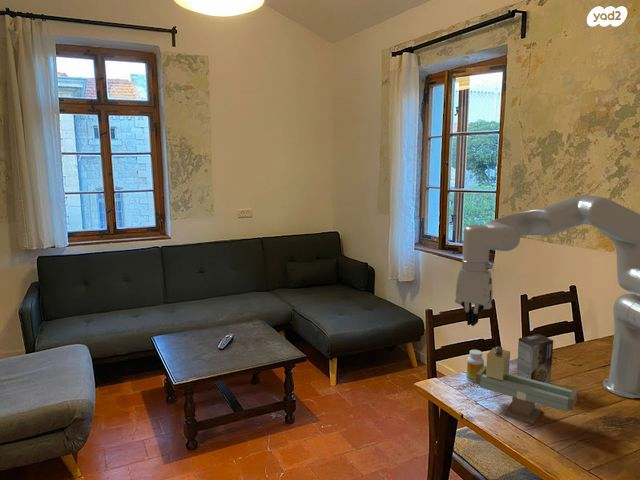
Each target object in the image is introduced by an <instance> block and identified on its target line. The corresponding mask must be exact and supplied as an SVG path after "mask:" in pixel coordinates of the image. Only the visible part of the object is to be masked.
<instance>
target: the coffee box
mask: <svg viewBox="0 0 640 480" xmlns="http://www.w3.org/2000/svg"><path fill="white" fill-rule="evenodd" d="M517 346H518V347H517V359H516V360H517V361H516V362H517V363H516V373H515V375H516V376H520V377H524V378H528V379H532V380H536V381H540V382H543V383H547V384H551V378H552V377H551V376H552V365H553V353H554V351H553V349H554V339H551V338H549V337H547V336H545V335H542V334H539V333H536V334H533V335H528V336H523V337H519V338H518V345H517Z"/></svg>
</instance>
